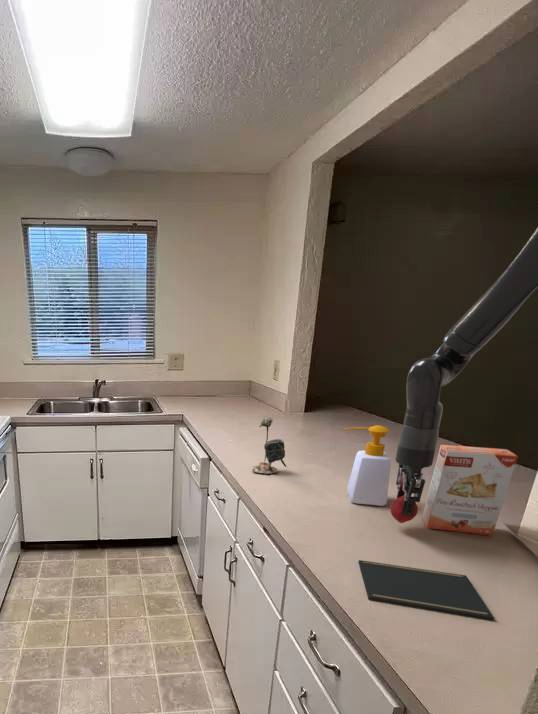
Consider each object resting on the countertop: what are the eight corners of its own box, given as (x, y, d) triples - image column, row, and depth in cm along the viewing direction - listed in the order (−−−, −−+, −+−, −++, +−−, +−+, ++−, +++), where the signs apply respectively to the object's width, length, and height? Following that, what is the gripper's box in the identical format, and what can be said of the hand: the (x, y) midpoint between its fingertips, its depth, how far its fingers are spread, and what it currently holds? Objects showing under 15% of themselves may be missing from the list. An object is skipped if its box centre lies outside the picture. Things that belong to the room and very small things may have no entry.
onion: (416, 529, 105) (422, 499, 102) (388, 525, 107) (394, 495, 105) (413, 519, 110) (419, 490, 107) (387, 516, 112) (392, 487, 109)
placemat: (465, 577, 89) (466, 574, 89) (493, 620, 77) (494, 617, 77) (358, 562, 95) (358, 559, 95) (368, 599, 83) (369, 596, 83)
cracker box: (427, 529, 109) (447, 450, 102) (420, 519, 114) (439, 443, 107) (494, 537, 105) (519, 455, 98) (483, 526, 110) (507, 447, 103)
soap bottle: (330, 490, 134) (341, 420, 126) (380, 495, 130) (394, 422, 122) (333, 502, 125) (345, 427, 118) (387, 508, 121) (403, 431, 114)
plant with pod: (283, 477, 145) (290, 419, 138) (249, 472, 150) (254, 416, 143) (286, 470, 152) (293, 414, 145) (254, 465, 156) (259, 411, 149)
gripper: (445, 454, 94) (429, 524, 100) (427, 437, 107) (413, 500, 113) (406, 451, 96) (392, 520, 102) (392, 435, 109) (381, 497, 115)
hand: (403, 509), depth 107 cm, fingers closed on onion, 6 cm apart
